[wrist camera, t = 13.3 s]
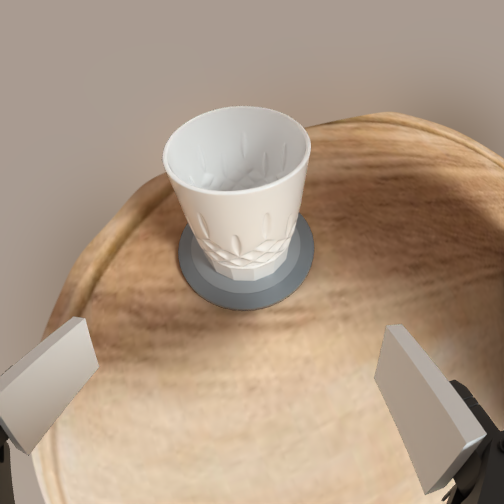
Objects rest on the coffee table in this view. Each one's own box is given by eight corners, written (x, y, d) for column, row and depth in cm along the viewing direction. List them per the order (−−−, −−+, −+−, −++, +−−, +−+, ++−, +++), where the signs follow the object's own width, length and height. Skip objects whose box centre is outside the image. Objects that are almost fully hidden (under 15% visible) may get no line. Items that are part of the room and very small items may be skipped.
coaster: (306, 196, 26) (307, 191, 25) (318, 309, 20) (320, 306, 19) (190, 199, 26) (188, 194, 26) (171, 308, 21) (168, 305, 20)
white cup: (284, 300, 20) (297, 208, 11) (183, 275, 21) (135, 183, 13) (304, 215, 24) (317, 114, 15) (217, 199, 25) (197, 102, 17)
